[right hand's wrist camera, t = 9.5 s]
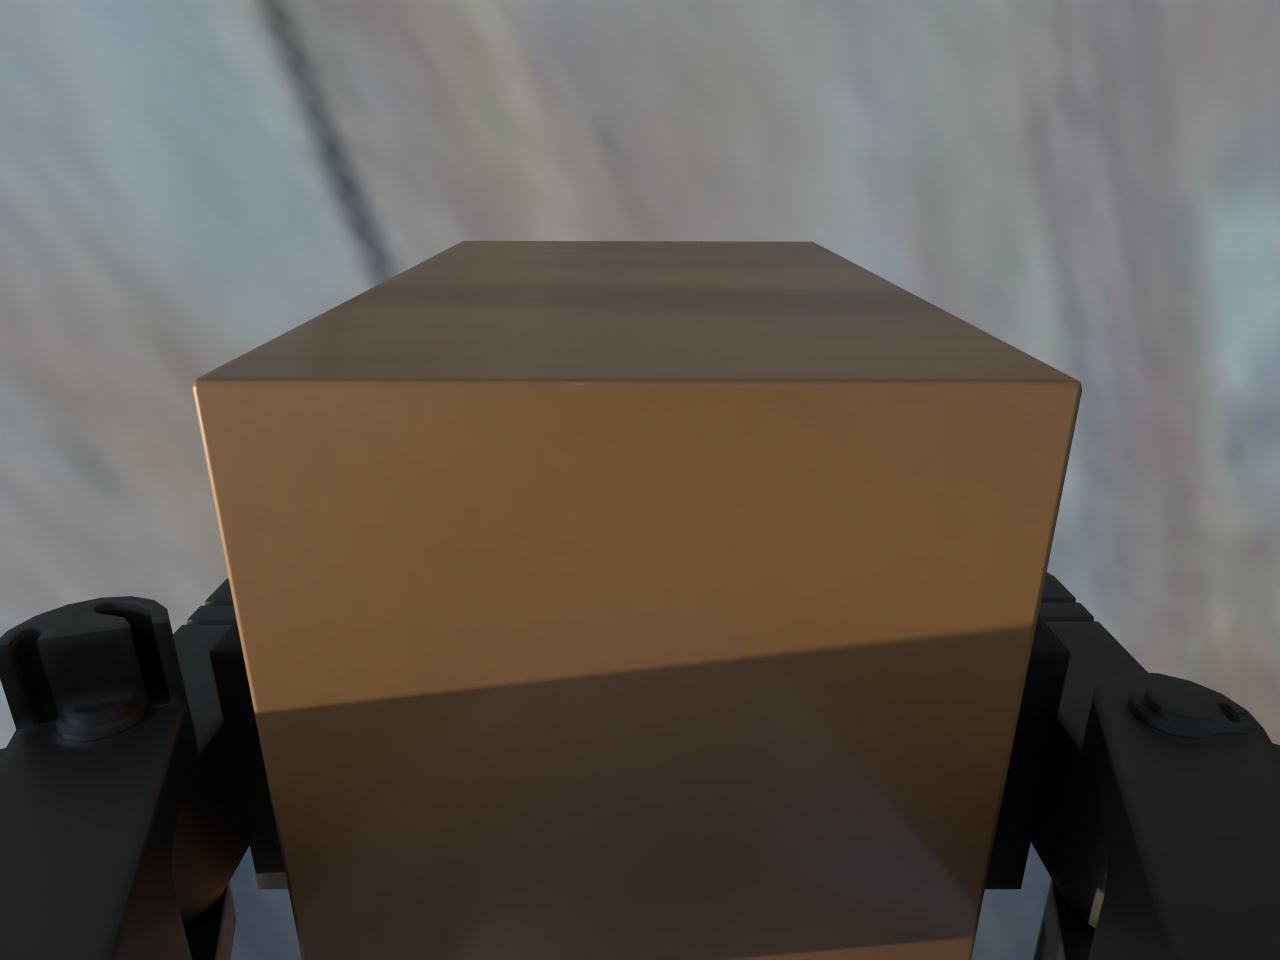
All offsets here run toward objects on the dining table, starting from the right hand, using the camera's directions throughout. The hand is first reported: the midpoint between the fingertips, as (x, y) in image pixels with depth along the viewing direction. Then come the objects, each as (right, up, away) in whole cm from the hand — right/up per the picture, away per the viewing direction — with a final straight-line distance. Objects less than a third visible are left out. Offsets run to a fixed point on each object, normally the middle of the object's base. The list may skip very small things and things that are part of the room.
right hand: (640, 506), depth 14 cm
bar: (0, -6, +3) cm, 7 cm away
